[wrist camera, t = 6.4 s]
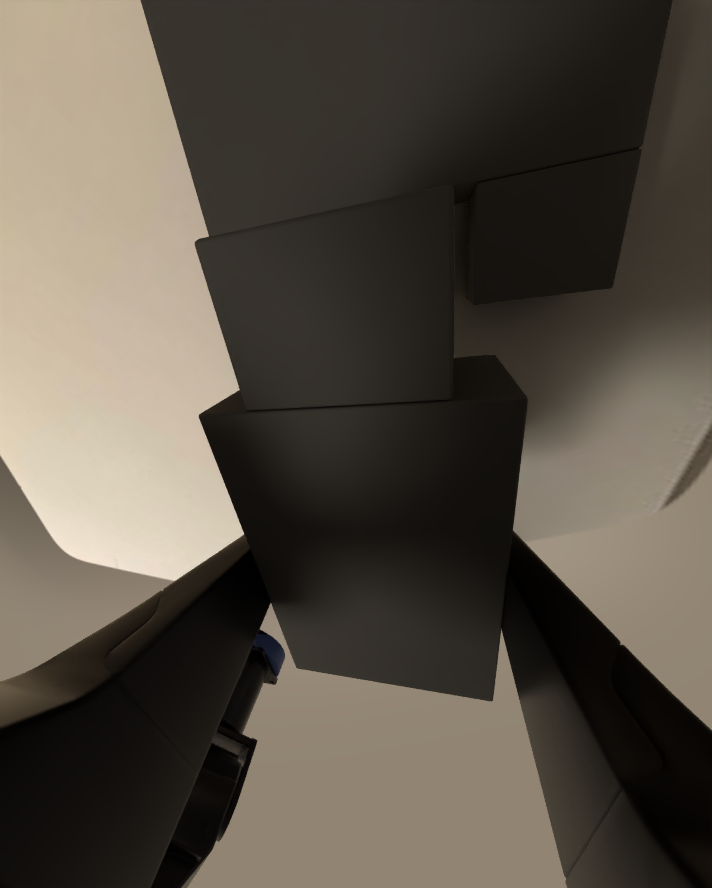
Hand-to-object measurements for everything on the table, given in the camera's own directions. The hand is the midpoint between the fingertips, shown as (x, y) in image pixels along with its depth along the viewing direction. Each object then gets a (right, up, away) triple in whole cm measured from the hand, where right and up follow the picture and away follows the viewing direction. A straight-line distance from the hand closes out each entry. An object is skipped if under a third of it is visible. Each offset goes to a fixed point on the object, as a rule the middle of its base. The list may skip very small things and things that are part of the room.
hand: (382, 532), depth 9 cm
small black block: (0, +2, 0) cm, 2 cm away
